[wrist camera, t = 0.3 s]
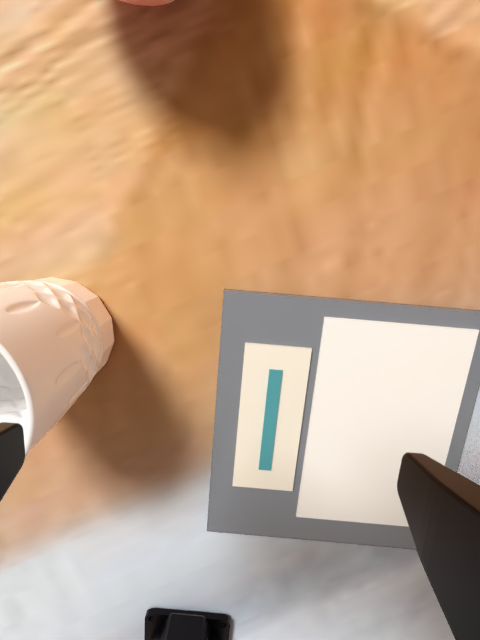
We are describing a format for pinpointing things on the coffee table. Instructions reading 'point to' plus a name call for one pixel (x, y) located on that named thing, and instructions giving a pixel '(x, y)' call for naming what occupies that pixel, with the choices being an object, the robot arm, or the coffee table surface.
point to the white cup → (48, 351)
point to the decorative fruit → (147, 2)
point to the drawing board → (334, 412)
